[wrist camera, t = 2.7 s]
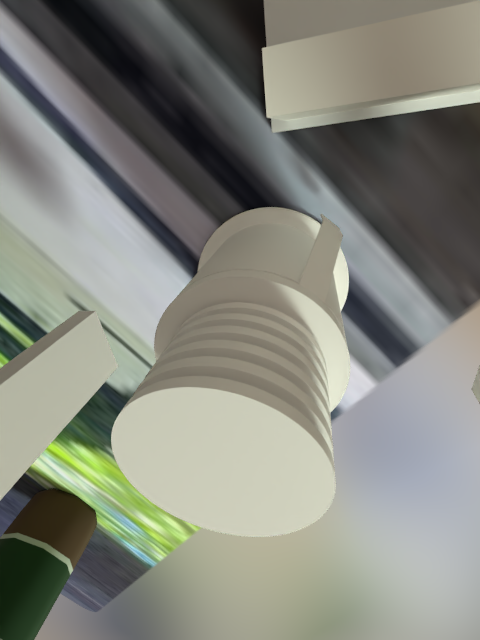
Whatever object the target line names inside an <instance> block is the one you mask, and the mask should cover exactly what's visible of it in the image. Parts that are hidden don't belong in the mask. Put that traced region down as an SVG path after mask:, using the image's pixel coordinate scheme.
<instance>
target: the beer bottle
mask: <svg viewBox="0 0 480 640" xmlns="http://www.w3.org/2000/svg"><path fill="white" fill-rule="evenodd" d="M96 525H97V519H96V512H95V510H93V509H92V508H91V507H90V506H88V505H87V504H86V503H85V502H83V501H82V500H81V499H80V498H78V497H77V496H74V495H71V494H68V493H66V492H63V491H60V490H57V489H54V488H53V489H48V490H44V491H40V492H38V493H37V494H35V496H34V497H33V498H32V499H31V500H30V501H29V503H28V504H27V505H26V506H25V507H24V508H23V510H22V511H21V512H20V513H19V515H18V516H17V517H16V519H15V520H14V521H13V522H12V524H11V525H10V526H9V527H8V529H7V530H6V531H5V533H4V534H3V535H2V536H1V538H0V640H34V639H35V637H36V635H37V634H38V632H39V630H40V628H41V626H42V625H43V623H44V621H45V619H46V618H47V616H48V614H49V612H50V610H51V609H52V607H53V605H54V603H55V601H56V600H57V598H58V596H59V594H60V592H61V591H62V589H63V587H64V585H65V584H66V582H67V580H68V578H69V576H70V575H71V573H72V571H73V569H74V567H75V566H76V564H77V562H78V560H79V559H80V557H81V555H82V553H83V551H84V550H85V548H86V546H87V544H88V542H89V540H90V538H91V536H92V534H93V532H94V530H95V528H96Z"/></svg>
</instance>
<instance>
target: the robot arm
mask: <svg viewBox="0 0 480 640" xmlns="http://www.w3.org/2000/svg"><path fill="white" fill-rule="evenodd" d="M117 368H118V365H117V362H116V360H115V357H114V355H113V352H112V350H111V348H110V345H109V343H108V340H107V338H106V335H105V333H104V330H103V328H102V326H101V323H100V321H99V318H98V316H97V313H96V311H78V312H77V313H76V314H74V315H73V316H71V317H70V318H69V319H67V320H66V321H65V322H63V323H62V324H60V325H59V326H58V327H56V328H55V329H54V330H52V331H51V332H49V333H48V334H47V335H45V336H44V337H43V338H41V339H40V340H38V341H37V342H36V343H34V344H33V345H32V346H30V347H29V348H27V349H26V350H25V351H23V352H22V353H21V354H19V355H18V356H17V357H15V358H14V359H12V360H11V361H10V362H8V363H7V364H6V365H4V366H3V367H1V368H0V500H1V499H2V498H3V497H4V495H5V494H6V493H7V492H8V491H9V490H10V489H11V488H12V486H13V485H14V484H15V483H16V482H17V481H18V480H19V478H20V477H21V476H22V475H23V474H24V473H25V472H26V471H27V469H28V468H29V467H30V466H31V465H32V464H33V463H34V462H35V460H36V459H37V458H38V457H39V456H40V455H41V454H42V452H43V451H44V450H45V449H46V448H47V447H48V446H49V445H50V443H51V442H52V441H53V440H54V439H55V438H56V437H57V435H58V434H59V433H60V432H61V431H62V430H63V429H64V428H65V426H66V425H67V424H68V423H69V422H70V421H71V420H72V419H73V417H74V416H75V415H76V414H77V413H78V412H79V411H80V409H81V408H82V407H83V406H84V405H85V404H86V403H87V402H88V400H89V399H90V398H91V397H92V396H93V395H94V394H95V392H96V391H97V390H98V389H99V388H100V387H101V386H102V385H103V383H104V382H105V381H106V380H107V379H108V378H109V377H110V376H111V374H112V373H113V372H114V371H115V370H116V369H117ZM472 391H473V393H474V395H475V396H476V398H477V400H478V402H479V403H480V366H479V369H478V372H477V375H476V378H475V381H474V384H473V387H472Z"/></svg>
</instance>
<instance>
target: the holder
mask: <svg viewBox="0 0 480 640" xmlns="http://www.w3.org/2000/svg"><path fill="white" fill-rule="evenodd" d="M264 14H265V30H266V46H267V47H265V48H262V58H263V72H264V87H265V101H266V116H267V118H271V125H272V133H275V132H281V131H288V130H295V129H302V128H308V127H315V126H322V125H329V124H335V123H342V122H349V121H356V120H362V119H369V118H376V117H382V116H389V115H396V114H403V113H409V112H416V111H423V110H430V109H436V108H443V107H450V106H457V105H463V104H470V103H477V102H480V0H264Z"/></svg>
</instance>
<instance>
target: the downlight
mask: <svg viewBox="0 0 480 640" xmlns="http://www.w3.org/2000/svg"><path fill="white" fill-rule="evenodd" d="M321 218H322V224H320V223H319V222H317V221H316V220H314V219H313V218H311V217H309V216H307V215H305V214H303V213H300V212H298V211H294V210H291V209H286V208H279V207H264V208H256V209H252V210H248V211H245V212H242V213H240V214H238V215H236V216H234V217H232V218H231V219H229V220H228V221H226V222H225V223H224V224H222V225H221V226H220V227H219V228H218V229H217V230H216V231H215V232H214V233H213V234H212V236H211V237H210V238H209V240H208V241H207V243H206V245H205V247H204V249H203V251H202V253H201V257H200V260H199V265H198V273H197V274H196V275H195V276H194V278H193V279H192V280H191V281H190V282H189V283H188V284H187V286H186V287H185V288H184V289H183V290H182V291H181V293H180V294H179V295H178V296H177V297H176V298H175V299H174V301H173V302H172V303H171V304H170V305H169V306H168V308H167V309H166V310H165V312H164V313H163V315H162V317H161V319H160V321H159V324H158V326H157V330H156V334H155V341H154V350H155V358H156V363H155V364H154V366H153V367H152V368H151V370H150V371H149V373H148V374H147V375H146V377H145V379H144V380H143V382H142V383H141V384H140V385H139V387H138V388H137V390H136V391H135V392H134V394H133V396H132V397H131V399H130V400H129V401H128V403H127V404H126V405H125V407H124V408H123V410H122V411H121V412H120V414H119V415H118V417H117V419H116V420H115V423H114V426H113V429H112V435H111V443H112V450H113V454H114V457H115V459H116V462H117V464H118V466H119V468H120V469H121V471H122V472H123V474H124V475H125V477H126V478H127V479H128V481H129V482H130V483H131V484H132V485H133V486H134V487H135V488H136V489H137V490H138V491H139V492H140V493H141V494H142V495H143V496H144V497H146V498H147V499H148V500H150V501H151V502H152V503H154V504H155V505H157V506H158V507H159V508H161V509H163V510H164V511H166V512H168V513H170V514H171V515H173V516H175V517H177V518H179V519H181V520H184V521H186V522H188V523H191V524H193V525H196V526H199V527H202V528H205V529H208V530H212V531H216V532H220V533H225V534H230V535H238V536H247V537H267V536H277V535H283V534H288V533H292V532H295V531H298V530H300V529H303V528H305V527H307V526H309V525H311V524H313V523H314V522H315V521H317V520H318V519H319V518H321V517H322V516H323V515H324V514H325V512H326V511H327V510H328V508H329V507H330V505H331V503H332V501H333V498H334V495H335V488H336V487H335V486H336V481H335V469H334V461H333V457H334V455H333V442H332V428H331V418H330V412H331V411H332V410H333V409H334V408H335V407H336V406H337V404H338V403H339V402H340V400H341V398H342V397H343V395H344V393H345V391H346V388H347V385H348V381H349V376H350V358H349V353H348V348H347V343H346V337H345V332H344V326H343V321H342V316H341V310H342V308H343V306H344V303H345V301H346V297H347V293H348V287H349V275H348V268H347V263H346V260H345V257H344V254H343V252H342V250H341V248H340V245H341V241H342V237H343V235H342V233H341V231H340V229H339V228H338V227H337V226H336V225H335V224H333V223H332V222H331V221H330V220H329V219H327V218H326V217H325V216H324V215H322V214H321Z"/></svg>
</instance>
